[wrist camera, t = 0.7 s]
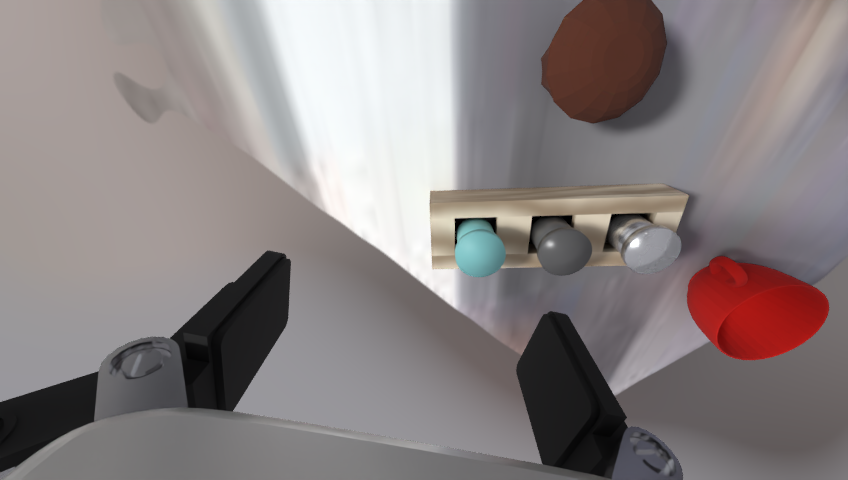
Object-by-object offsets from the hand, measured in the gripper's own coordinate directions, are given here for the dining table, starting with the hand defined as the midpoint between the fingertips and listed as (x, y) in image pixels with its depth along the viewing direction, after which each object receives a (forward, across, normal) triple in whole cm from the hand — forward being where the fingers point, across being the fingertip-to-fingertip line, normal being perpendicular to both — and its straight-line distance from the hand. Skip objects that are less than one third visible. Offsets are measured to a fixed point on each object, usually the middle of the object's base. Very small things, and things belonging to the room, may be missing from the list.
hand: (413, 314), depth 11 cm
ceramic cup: (+34, -47, +8) cm, 59 cm away
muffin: (+34, -15, -14) cm, 39 cm away
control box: (+34, -18, +6) cm, 39 cm away
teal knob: (+30, -9, +9) cm, 32 cm away
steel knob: (+30, -28, +3) cm, 41 cm away
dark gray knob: (+30, -18, +6) cm, 36 cm away
